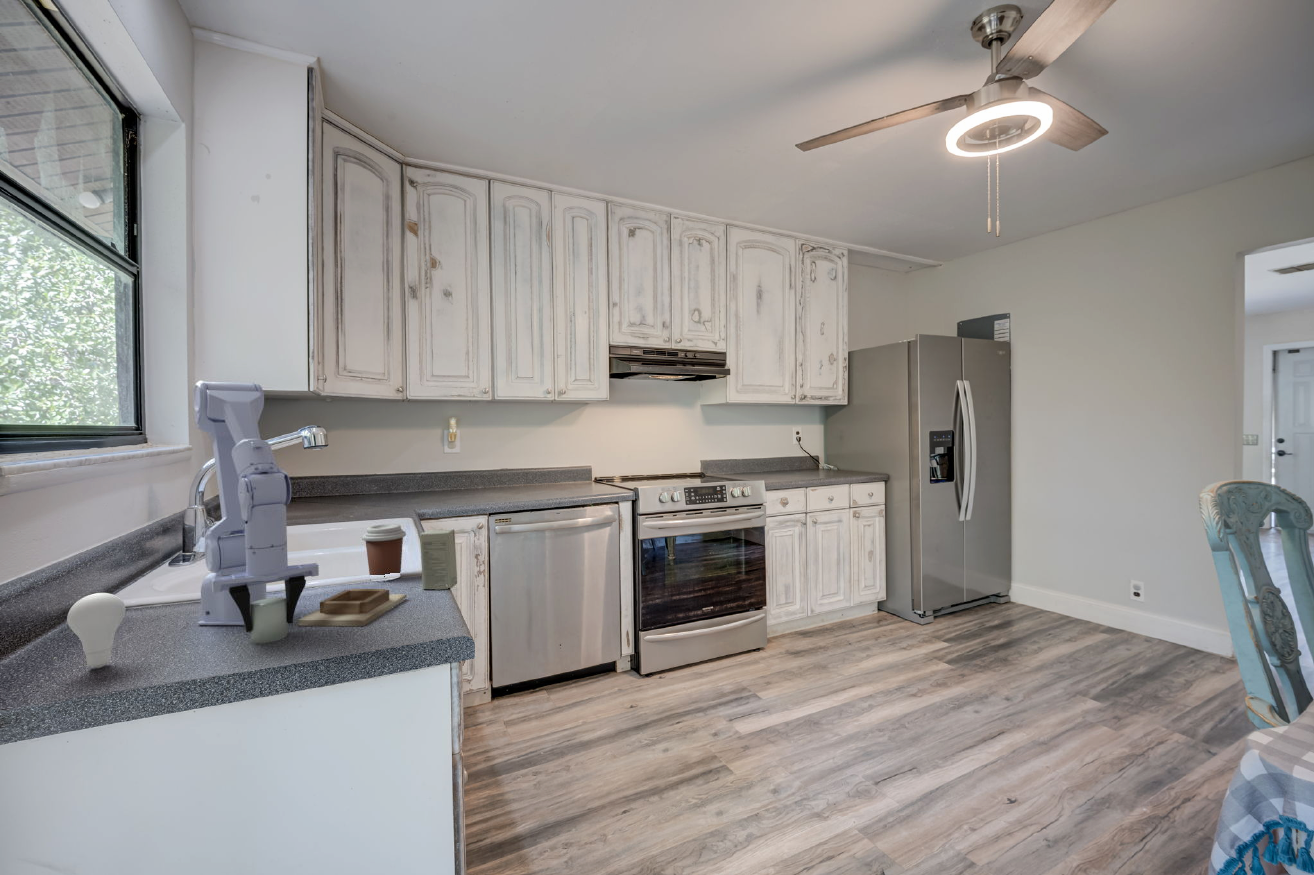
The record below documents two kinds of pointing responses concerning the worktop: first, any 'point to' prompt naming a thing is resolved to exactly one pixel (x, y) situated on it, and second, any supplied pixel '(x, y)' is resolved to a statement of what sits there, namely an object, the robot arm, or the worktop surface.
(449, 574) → the skincare box
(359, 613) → the socket board
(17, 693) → the worktop surface
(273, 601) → the sage cap
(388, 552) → the coffee cup
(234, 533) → the robot arm
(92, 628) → the lightbulb
